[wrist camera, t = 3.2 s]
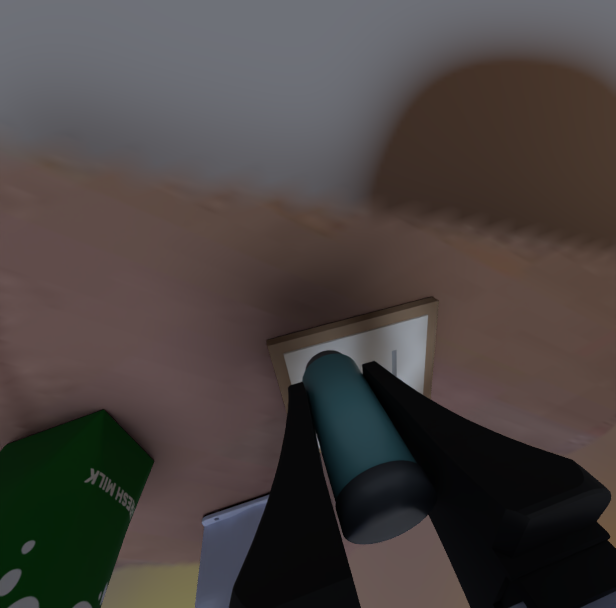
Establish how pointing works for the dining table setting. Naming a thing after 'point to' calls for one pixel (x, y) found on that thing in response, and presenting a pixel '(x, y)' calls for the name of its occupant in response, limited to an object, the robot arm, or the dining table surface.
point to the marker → (364, 454)
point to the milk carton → (66, 511)
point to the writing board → (366, 345)
